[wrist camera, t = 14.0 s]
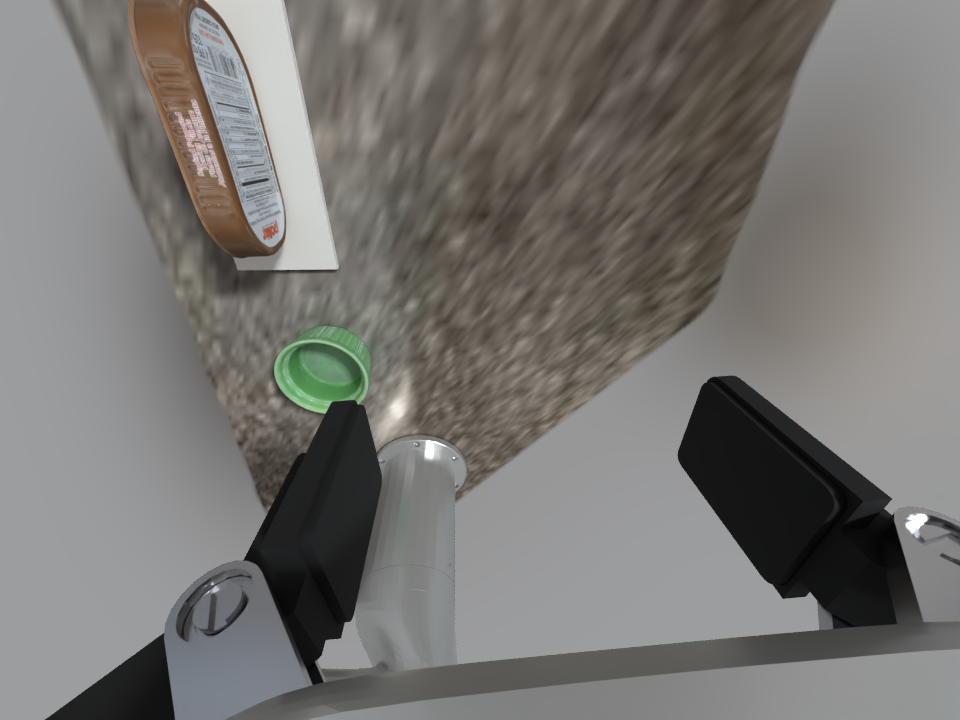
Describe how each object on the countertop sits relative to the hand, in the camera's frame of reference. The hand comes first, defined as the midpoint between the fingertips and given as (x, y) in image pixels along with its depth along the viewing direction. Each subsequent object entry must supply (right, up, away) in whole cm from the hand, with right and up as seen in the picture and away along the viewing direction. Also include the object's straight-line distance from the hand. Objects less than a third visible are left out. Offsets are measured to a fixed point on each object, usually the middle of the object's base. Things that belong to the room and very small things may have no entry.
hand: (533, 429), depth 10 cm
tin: (-19, +19, +18) cm, 32 cm away
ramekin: (-18, +2, +29) cm, 34 cm away
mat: (-19, +19, +18) cm, 33 cm away
